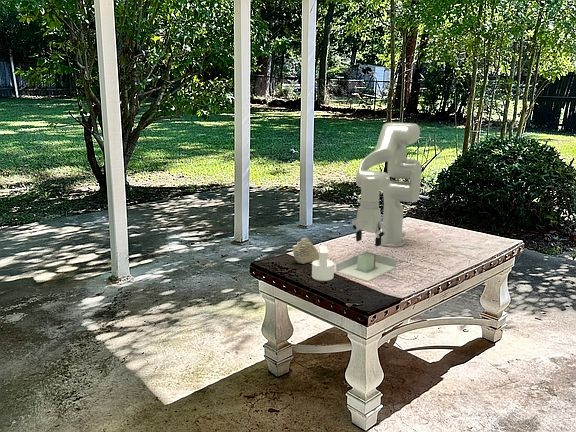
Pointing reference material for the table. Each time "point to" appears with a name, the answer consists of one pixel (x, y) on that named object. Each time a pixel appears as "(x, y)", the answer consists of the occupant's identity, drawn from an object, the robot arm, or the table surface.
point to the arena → (381, 267)
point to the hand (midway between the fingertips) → (368, 243)
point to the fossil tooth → (305, 251)
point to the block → (366, 261)
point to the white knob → (322, 266)
